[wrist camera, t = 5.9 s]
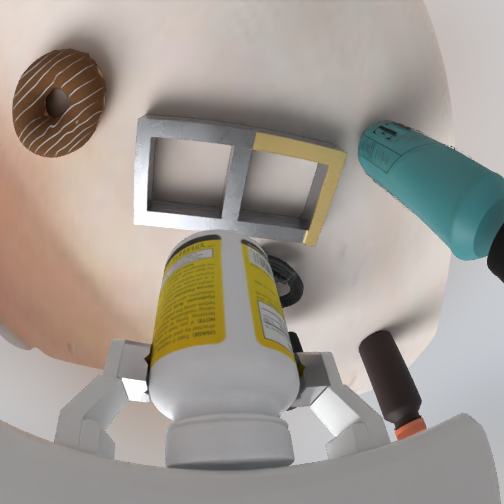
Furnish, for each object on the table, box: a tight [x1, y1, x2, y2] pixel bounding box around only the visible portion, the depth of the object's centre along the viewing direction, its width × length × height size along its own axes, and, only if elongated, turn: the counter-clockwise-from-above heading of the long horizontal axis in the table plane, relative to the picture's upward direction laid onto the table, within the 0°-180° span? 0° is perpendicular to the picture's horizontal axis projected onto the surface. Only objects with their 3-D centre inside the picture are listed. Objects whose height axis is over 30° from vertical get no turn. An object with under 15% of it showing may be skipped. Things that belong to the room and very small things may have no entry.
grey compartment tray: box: [134, 115, 347, 246], centre depth 25 cm, size 10×18×3 cm, turn 78°
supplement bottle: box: [148, 229, 300, 470], centre depth 10 cm, size 5×5×10 cm
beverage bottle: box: [358, 120, 504, 283], centre depth 17 cm, size 6×7×20 cm
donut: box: [12, 49, 106, 158], centre depth 17 cm, size 11×11×4 cm
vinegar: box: [359, 331, 426, 440], centre depth 38 cm, size 7×7×20 cm
